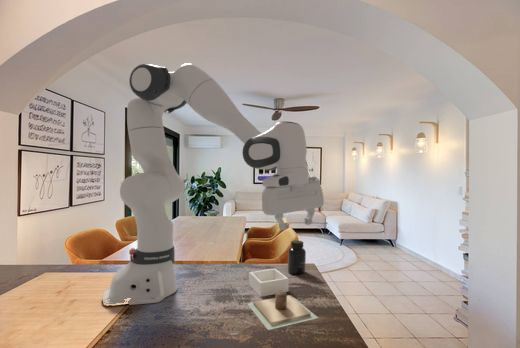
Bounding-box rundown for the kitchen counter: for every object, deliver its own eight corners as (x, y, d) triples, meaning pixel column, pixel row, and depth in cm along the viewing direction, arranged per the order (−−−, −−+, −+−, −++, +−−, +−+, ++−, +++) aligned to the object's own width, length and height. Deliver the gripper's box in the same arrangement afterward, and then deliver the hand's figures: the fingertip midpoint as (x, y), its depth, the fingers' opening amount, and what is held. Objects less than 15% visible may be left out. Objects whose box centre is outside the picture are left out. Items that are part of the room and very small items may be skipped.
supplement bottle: (305, 276, 107) (305, 244, 107) (287, 274, 109) (287, 243, 108) (305, 269, 114) (306, 240, 114) (288, 268, 115) (289, 239, 115)
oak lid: (270, 325, 73) (271, 307, 72) (253, 304, 84) (253, 288, 83) (310, 316, 77) (310, 298, 77) (289, 297, 88) (289, 282, 88)
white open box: (260, 298, 89) (260, 283, 89) (248, 286, 98) (249, 272, 98) (288, 293, 93) (288, 278, 93) (274, 282, 102) (275, 268, 102)
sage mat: (268, 331, 71) (268, 330, 71) (246, 304, 84) (246, 303, 84) (318, 319, 76) (318, 317, 76) (290, 296, 90) (290, 294, 90)
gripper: (312, 176, 89) (315, 220, 89) (257, 181, 78) (260, 231, 78) (326, 175, 84) (330, 222, 84) (270, 180, 72) (274, 234, 72)
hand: (296, 226), depth 81 cm, fingers open, 8 cm apart
